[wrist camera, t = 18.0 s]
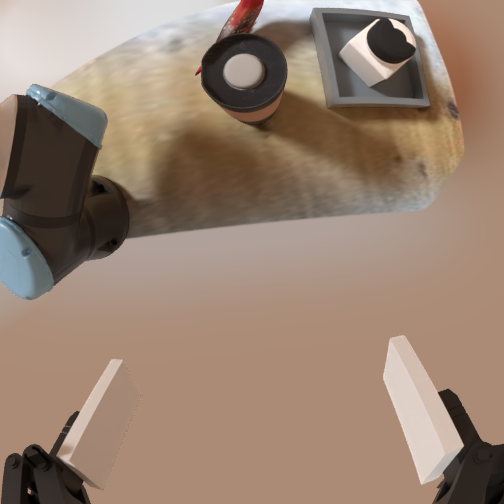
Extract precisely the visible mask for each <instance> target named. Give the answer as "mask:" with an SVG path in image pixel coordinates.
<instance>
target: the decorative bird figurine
mask: <svg viewBox="0 0 504 504" xmlns="http://www.w3.org/2000/svg"><path fill="white" fill-rule="evenodd" d="M263 2H264V0H241V2H240V3H239V5H238V6H237V7H236V9H235V10H234V12H233V13H232V15H231V16H230V17H229V19H228V20H227V22H226V24H225V25H224V27H223V29H222V31H221V33H220V35H219V36H218V38H217V41H219V40H221V39H222V38H224V37H227V36H230V35H233V34H238V33H247V31H248V30H249V29H250V28H251V26H252V25H253V23H254V22H255V20H256V19H257V17H258V15H259V13H260V11H261V9H262V6H263ZM217 41H216V42H217ZM201 66H202V65H201ZM201 66H200V68H199V69H198V71H197V72H196V74H195V76H196V75H197V74H199V73H200V72H201Z"/></svg>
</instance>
